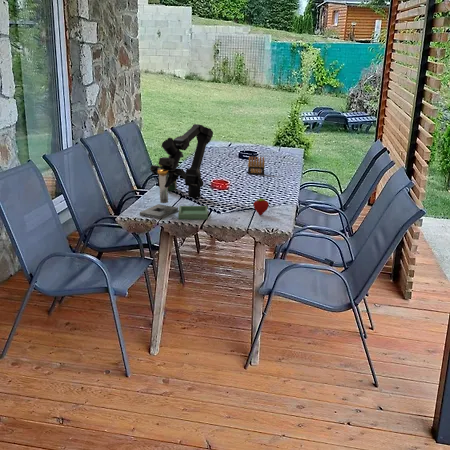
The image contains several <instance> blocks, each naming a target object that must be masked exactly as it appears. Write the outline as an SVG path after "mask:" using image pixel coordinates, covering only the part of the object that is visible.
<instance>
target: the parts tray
mask: <svg viewBox="0 0 450 450" xmlns="http://www.w3.org/2000/svg"><path fill="white" fill-rule="evenodd" d="M177 214H178V215H177V216H178V217H177V218H178V220H208V219H209V218H208V217H209V215H208V214H209V212H208V205H179V207H178V213H177Z"/></svg>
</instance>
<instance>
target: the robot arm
mask: <svg viewBox="0 0 450 450" xmlns="http://www.w3.org/2000/svg"><path fill="white" fill-rule="evenodd" d="M213 136H214V131H213V130H212V128H210V127H206V126H204V125H203V124H198V123H194V124H192V126H191V127H190V128H189V129H188V130H187V131H186V132H184V134H183V135H180V136H177V137H175V138H173V137H168V138H167V139H165V140H164V141H163V142H162V143H161V147H162V150H164V151H165V153H166V155H168V158H166V159H165V158H162V157H160V158H159V159H158V164H157V165H154V164H153V165H150V168H149V170H150V171H151V173H152V174H153V175H154V176H157V187H159V174H158V170H160V169H161V168H160V166H159V164H160V165H162V168H164V169H167V170H168V173H167V174H169V178H168V180H167V182H166V185H165V187H166V188H167V187H168V186H169V185H170V184H172V183H173V182H174V181H177V180H178V181H179V179H180V180H184V183H185V186H187V192H188V194H186V197H187V196H188V197H187V198H190V197H192V199H197V198H196V197H198V198H201V197H200V196H202V197H203V195H202V194H201V188H203V186H204V182H205V181H204V180H203V179H202V172H201V167H202V166H201V165H202V164H203V163H202V162H203V159H204V156H205V152H206V148H207V145H208V144H209V143H210V142H211V141H212V137H213ZM195 138H196V140H197V143H196V148H195V149H194V150H195V151H194V154H193V158H192V162H191V166H190V167H189V168H186V169H185V170H184V169H183V168H179V167H180V164H179V163H180V160H181V159H182V158H184V153H183V151H186V150H187V149H188V148H189V146H190V143H191V142H192V140H194V139H195Z"/></svg>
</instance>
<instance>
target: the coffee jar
mask: <svg viewBox="0 0 450 450" xmlns="http://www.w3.org/2000/svg"><path fill="white" fill-rule="evenodd" d="M168 157H169V156H168ZM168 157H167V156H163V157H161V158H165V159H166V158H168ZM158 166H159V167H160V168H161V169H164V168H162V165H160V164H158ZM168 178H169V174H167V180H168ZM177 189H178V183H177V180H176V181H174V182H173V183H172V184H170V185H169V186H168V192H170V191H171V192H172V191H176V190H177Z"/></svg>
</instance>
